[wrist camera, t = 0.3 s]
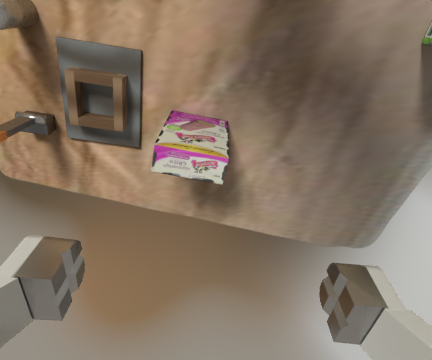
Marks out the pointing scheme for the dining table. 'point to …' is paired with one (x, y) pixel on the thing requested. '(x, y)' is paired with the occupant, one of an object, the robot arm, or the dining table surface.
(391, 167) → the dining table surface
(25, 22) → the steel pin
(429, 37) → the syrup box
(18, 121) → the bar
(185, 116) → the candy bar box
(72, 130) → the hitch block
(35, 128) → the retainer base
